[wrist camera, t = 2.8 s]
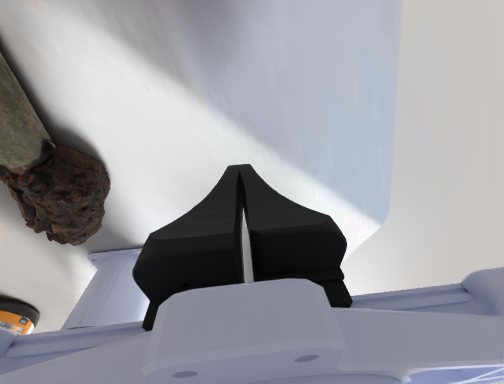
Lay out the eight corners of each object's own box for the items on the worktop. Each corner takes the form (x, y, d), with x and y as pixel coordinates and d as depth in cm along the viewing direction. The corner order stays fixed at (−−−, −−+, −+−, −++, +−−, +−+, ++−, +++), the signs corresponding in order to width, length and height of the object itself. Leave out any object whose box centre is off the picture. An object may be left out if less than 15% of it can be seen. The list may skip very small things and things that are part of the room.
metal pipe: (-84, 12, 12) (-283, -17, 7) (33, 11, 12) (-83, -16, 8) (76, 219, 22) (36, 262, 17) (136, 215, 23) (113, 255, 18)
